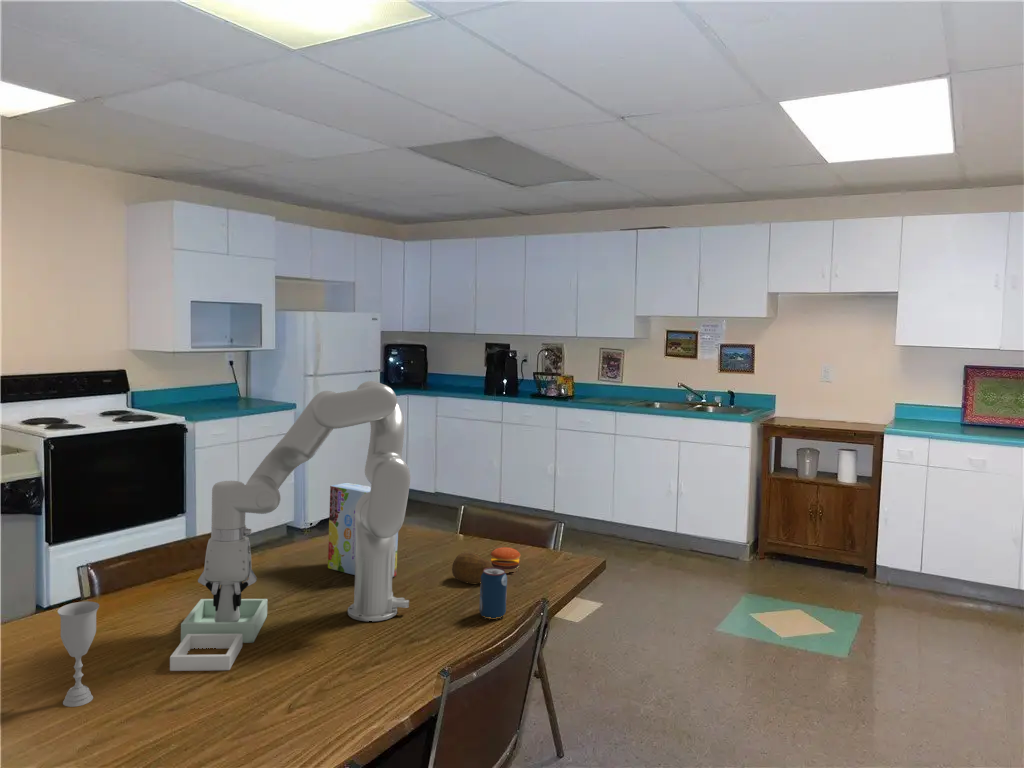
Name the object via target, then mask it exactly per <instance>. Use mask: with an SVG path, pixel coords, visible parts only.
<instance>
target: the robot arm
mask: <svg viewBox="0 0 1024 768" xmlns="http://www.w3.org/2000/svg"><path fill="white" fill-rule="evenodd" d="M397 398H398V397H397V395H396V392H395V391H394V390H393V389H392V388H391V387H390V386H388V385H386V384H383V383H381V382H378V381H373V380H368V381H364V382H362V383H360V384H359V386H357V388H356V389H353V390H349V391H343V392H334V391H331V390H322V391H320V392H318V393H317V394H316V395H315V396H314V397H312V399H311V400H310V401H309V403H308V404H307V406H306V407H305V408H304V409H303V410H302V412H301V413H300V415H299V416H298V418H297V419H296V420H295V422H294V423H293V424H292V425H291V427H290V428H289V430H288V431H286V434H284V436H283V437H282V438H281V439H280V440H279V441H278V443H276V445H275V446H274V447H273V448H272V450H271V451H270V452H268V453H267V455H266V456H265V457H264V459H262V461H261V462H260V463H259V465H258V467H257V468H256V469H255V471H253V473H252V474H251V475H250V477H249V478H248V480H247V482H246V484H244V483H243V482H242V481H239V480H223V481H222V480H221V481H219V482H216V483H215V484H213V486H212V490H211V535H210V536H211V537H210V538H209V539H208V542H207V545H206V550H205V558H204V566H203V567H204V569H203V571H202V573H201V574H200V576H199V578H198V579H197V582H198V584H201V585H202V586H205V588H207V589H208V590H209V591H210V592H211V594H212V596H213V598H212V599H213V606H215V611H217V610H218V605H219V596H220V588H221V585H220V584H219V582H221V581H223V580H228V581H231V582H234V586H235V593H234V595H233V608H234V611H236V607H237V606H240V605H241V599H242V592H243V591H244V590H245V589H246V588H247V587H249V586H251V585H253V584H255V583H256V582H257V581H258V578H257V576H256V574H255V572H254V570H253V569H252V565H253V564H252V553H251V543H250V538H249V537H248V536H249V535H251V534H252V531H253V530H252V528H248V527H247V525H246V513H249V514H259V515H260V514H261V515H264V514H270V513H272V512H273V511H275V510H276V509H277V508H278V507H279V505H280V503H281V492H280V490H279V489H280V488H281V486H282V485H283V483H284V482H285V481H286V479H287V478H288V477H289V475H291V473H292V472H293V471H294V470H295V469H297V468H298V467H299V466H300V465H303V464H304V463H306V462H308V461H309V460H310V459H312V458H314V456H315V455H316V453H317V452H319V450H320V447H321V446H322V445H323V444H324V442H325V441H326V440H327V438H328V437H329V436H330V434H331V433H332V432H333V430H337V429H344V428H348V427H354V426H358V425H362V424H366V423H370V433H369V434H370V436H369V443H368V450H367V455H366V462H365V465H364V475H365V478H366V480H367V481H368V483H370V487H371V491H370V492H367V493H365V494H364V495H363V496H362V497H361V498H360V499H359V500H358V502H357V505H356V509H355V525H356V560H355V575H354V590H353V591H354V593H353V594H354V596H353V597H354V598H353V603H352V604H350V606H348V607H347V615H348V616H349V617H350V618H351V619H353V620H356V621H360V622H369V621H372V622H382V621H386V620H389V619H391V618H393V617H395V616H396V615H397V614H398V608H403V609H404V608H406V609H407V608H409V607H410V606H409V605H410V599H405V597H396V596H394V592H393V577H392V572H393V547H394V540H393V535H395V534H396V533H397V532H398V533H399V531H400V530H401V528H402V526H403V524H404V521H405V517H406V511H407V510H406V509H407V505H408V500H409V499H408V497H409V491H410V488H411V487H410V485H411V474H410V468H409V466H408V464H407V463H406V462H405V460H404V459H403V458H402V455H403V447H404V437H405V436H404V435H405V420H404V415H403V412H402V409H401V407H400V405H399V403H398V399H397Z"/></svg>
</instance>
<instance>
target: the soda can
mask: <svg viewBox="0 0 1024 768" xmlns="http://www.w3.org/2000/svg"><path fill="white" fill-rule="evenodd" d="M479 585H480V589H479V590H480V591H479V609H478V610H479V614H480V615H481V617H482V616H485V617H491V618H496V617H501V616H503V615H504V616H505V614H506V611H507V597H508V595H507V593H508V592H507V591H508V575H507V573H505V570H504V569H502V568H496V567H490V568H485V569H484V570H483V573H482V575H481V584H479ZM504 616H503V617H504Z"/></svg>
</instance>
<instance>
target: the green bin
mask: <svg viewBox="0 0 1024 768" xmlns="http://www.w3.org/2000/svg"><path fill="white" fill-rule="evenodd" d="M239 610H240V619H239V621H238V622H215V620H214V617H215V613H216V611H215V606H213V598H200V600H199V601H198V602H197V603H196V605H195V606H193V608H192V610H190V612H189V613H188V614H187V616H186V617H185V619H183V621H182V622H181V623H180V643H181V642H182V641H183V639H184V638H185V637H186V635H187V634H243V644H250V643H252V644H254V643H255V641H256V639H257V636H258V634H259V633H260V631H261V629H262V627H263V626H264V624H265V621H266V620H267V617H268V598H241V605H240V606H239Z"/></svg>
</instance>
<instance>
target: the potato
mask: <svg viewBox="0 0 1024 768" xmlns="http://www.w3.org/2000/svg"><path fill="white" fill-rule="evenodd" d="M490 567H492V564H491V560H487V559H485V558H483V557H481V556H479V554H476V553H474V552H461V553H459V554H458V555H457V556H456V557H455V559H454V560H453V561H452V567H451V572H452V575H453V577H454V578H455V579H457V580H458V581H460V582H463V583H465V582H468V583H467V584H470V583H480V582H481V575H482V573H483V570H484V569H485V568H490Z"/></svg>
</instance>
